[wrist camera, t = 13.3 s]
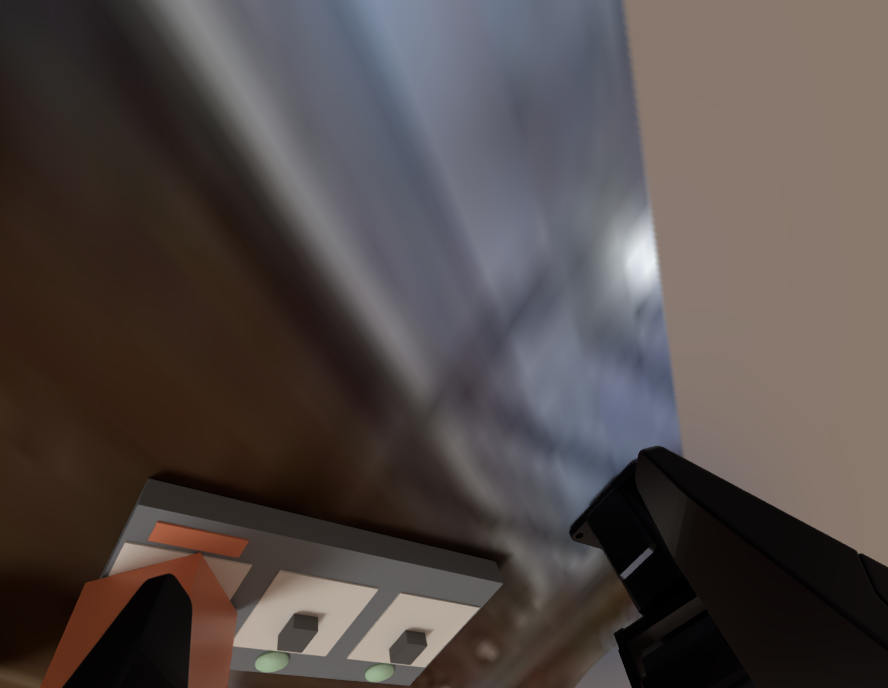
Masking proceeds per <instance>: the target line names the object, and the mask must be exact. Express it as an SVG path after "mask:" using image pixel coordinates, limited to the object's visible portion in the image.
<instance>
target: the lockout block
mask: <svg viewBox="0 0 888 688" xmlns="http://www.w3.org/2000/svg"><path fill="white" fill-rule="evenodd" d="M167 573H171V574H173V575H174V576H175V577H176V578H177V579H178V581H179V582H180V584H181V585H182V587H183V588H184V590H185V591H186V592H187V594H188V595H189V597H190V599H191V602H192V608H193V613H192V630H191V647H190V664H189V681H188V688H227V687H228V680H229V672H230V665H231V658H232V650H233V643H234V636H235V628H236V621H237V614H238V613H237V611H236V610H235V608H234V606H233V605H232V603H231V602H230V600H229V598H228V597H227V595H226V593H225V592H224V590H223V588H222V587H221V585H220V583H219V582H218V580H217V579H216V577H215V575H214V574H213V572H212V570H211V569H210V567H209V565H208V564H207V562H206V560H205V559H204V557H203V556H202V554H201V552H199V553H196V554H192V555H188V556H184V557H181V558H177V559H173V560H169V561H166V562H162V563H158V564H154V565H150V566H147V567H143V568H139V569H135V570H132V571H128V572H124V573H120V574H117V575H113V576H109V577H105V578H101V579H98V580H94V581H90V582H86V583H85V585H84V587H83V589H82V592H81V594H80V596H79V599H78V601H77V603H76V606H75V608H74V610H73V613H72V615H71V617H70V620H69V622H68V624H67V626H66V629H65V631H64V633H63V636H62V638H61V640H60V643H59V645H58V647H57V650H56V652H55V654H54V657H53V659H52V661H51V663H50V666H49V668H48V670H47V673H46V675H45V677H44V680H43V682H42V684H41V687H40V688H62V687H63V685H64V684H65V683H66V681H67V680H68V679H69V678H70V676H71V675H72V674H73V672H74V671H75V670H76V669H77V667H78V666H79V665H80V663H81V662H82V661H83V660H84V658H85V657H86V656H87V654H88V653H89V652H90V651H91V649H92V648H93V647H94V645H95V644H96V643H97V642H98V640H99V639H100V638H101V636H102V635H103V634H104V633H105V631H106V630H107V629H108V627H109V626H110V625H111V624H112V622H113V621H114V620H115V618H116V617H117V616H118V615H119V613H120V612H121V611H122V609H123V608H124V607H125V606H126V604H127V603H128V602H129V600H130V599H131V598H132V597H133V595H134V594H135V593H136V591H137V590H138V589H139V588H140V586H141V585H142V584H143V583H144V582H145V581H146V580H147V579H149V578H152V577H156V576H160V575H163V574H167Z"/></svg>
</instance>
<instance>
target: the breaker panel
mask: <svg viewBox="0 0 888 688" xmlns="http://www.w3.org/2000/svg"><path fill="white" fill-rule="evenodd" d="M199 552H201V554H202V556H203V557H204V559H205V560H206V562H207V564H208V565H209V567H210V569H211V570H212V572H213V574H214V575H215V577H216V579H217V580H218V582H219V583H220V585H221V587H222V588H223V590H224V592H225V593H226V595H227V597H228V598H229V600H230V602H231V603H232V605H233V606H234V608H235V610H236V611H237V613H238V614H237V621H236V628H235V636H234V643H233V650H232V658H231V665H230V670H241V671H252V672H264V673H275V674H286V675H297V676H308V677H319V678H330V679H341V680H352V681H363V682H374V683H385V684H397V685H408V686H409V685H410V684H411V683H412V682H413V681H414V680H415V679H416V678H417V677H418V676H419V675H420V673H421V672H422V671H423V670H424V669H425V668H426V667H427V666H428V665H429V664H430V663H431V662H432V660H433V659H434V658H435V657H436V656H437V655H438V654H439V653H440V652H441V651H442V650H443V649H444V647H445V646H446V645H447V644H448V643H449V642H450V641H451V640H452V639H453V638H454V637H455V636H456V634H457V633H458V632H459V631H460V630H461V629H462V628H463V627H464V626H465V625H466V624H467V623H468V621H469V620H470V619H471V618H472V617H473V616H474V615H475V614H476V613H477V612H478V611H479V610H480V608H481V607H482V606H483V605H484V604H485V603H486V602H487V601H488V600H489V599H490V598H491V597H492V596H493V594H494V593H495V592H496V591H497V590H498V589H499V588H500V587H501V586H502V585H503V581H502V578H501V575H500V572H499V569H498V566H497V563H496V562H495V561H491V560H487V559H483V558H479V557H474V556H470V555H466V554H462V553H458V552H454V551H449V550H445V549H441V548H437V547H433V546H428V545H424V544H420V543H416V542H412V541H408V540H403V539H399V538H395V537H391V536H387V535H382V534H378V533H374V532H370V531H366V530H362V529H357V528H353V527H349V526H345V525H341V524H337V523H332V522H328V521H324V520H320V519H316V518H311V517H307V516H303V515H299V514H295V513H291V512H286V511H282V510H278V509H274V508H270V507H265V506H261V505H257V504H253V503H249V502H245V501H240V500H236V499H232V498H228V497H224V496H220V495H215V494H211V493H207V492H203V491H199V490H194V489H190V488H186V487H182V486H178V485H174V484H169V483H165V482H161V481H157V480H153V479H149V478H148V480H147V482H146V484H145V486H144V488H143V490H142V492H141V494H140V496H139V498H138V500H137V502H136V504H135V506H134V508H133V510H132V512H131V515H130V517H129V519H128V521H127V523H126V525H125V527H124V529H123V531H122V533H121V535H120V537H119V539H118V541H117V543H116V545H115V547H114V549H113V552H112V554H111V556H110V558H109V560H108V562H107V564H106V566H105V568H104V570H103V572H102V574H101V576H100V578H99V579H101V578H105V577H109V576H113V575H117V574H120V573H124V572H128V571H132V570H135V569H139V568H143V567H147V566H150V565H154V564H158V563H162V562H166V561H169V560H173V559H177V558H181V557H184V556H188V555H192V554H196V553H199Z"/></svg>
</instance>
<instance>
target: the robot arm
mask: <svg viewBox="0 0 888 688" xmlns="http://www.w3.org/2000/svg"><path fill="white" fill-rule="evenodd" d="M569 534H570V536H571V538H572V540H573V541H576V542H579V543H583V544H586V545H590V546H593V547H596V548H600V549H602V550H603V552H604V553H605V555H606V557H607V559H608V560H609V562H610V564H611V566H612V567H613V569H614V571H615V573H616V574H617V576H618V578H619V579H620V580H621V582H622V583H623V585H624V587H625V589H626V590H627V592H628V594H629V596H630V597H631V599H632V601H633V603H634V604H635V606H636V608H637V610H638V611H639V613H640V614H642V616H643V617H641V618H640V619H638V620H637V621H635V622H634V623H632V624H631V625H629V626H628V627H626V628H625V629H624V628H621V629H620V630H618V631H617V632H615V633H614V636H615V639H616V641H617V644H618V647H619V654H620V657H621V659H622V662H623V665H624V667H625V670H626V673H627V676H628V679H629V681H630V684H631V687H632V688H888V567H886V566H885V565H883V564H881V563H879V562H877V561H875V560H874V559H872V558H870V557H868V556H866V555H864V554H861V553H860V554H858V552H857V551H856V550H854V549H853V548H851V547H849V546H847V545H845V544H843V543H841V542H840V541H838V540H836V539H834V538H832V537H830V536H828V535H827V534H825V533H823V532H821V531H819V530H817V529H815V528H813V527H811V526H810V525H808V524H806V523H804V522H802V521H800V520H798V519H797V518H795V517H793V516H791V515H789V514H787V513H785V512H784V511H782V510H779V509H778V508H776V507H774V506H772V505H770V504H768V503H767V502H765V501H763V500H761V499H759V498H757V497H756V496H754V495H752V494H750V493H748V492H746V491H744V490H742V489H741V488H739V487H737V486H735V485H733V484H731V483H729V482H727V481H725V480H724V479H722V478H720V477H718V476H716V475H714V474H712V473H711V472H709V471H707V470H705V469H703V468H701V467H699V466H698V465H696V464H694V463H692V462H690V461H688V460H686V459H685V458H683V457H681V456H679V455H677V454H675V453H673V452H671V451H670V450H668V449H666V448H664V447H661V446H654V447H650V448H646V449H643V450H641V451H640V452H639V454H638V460H637V462H636V463H634V464H632V465H631V466H630V467H629V468H628V469H627V470H626V471H625V472H624V473H623V474H622V475H621V476H620V477H619V478H618V479H617V480H616V482H615V483H614V484H613V485H612V486H611V487H610V488H609V489H608V490H607V491H606V492H605V493H604V494H603V495H602V496H601V497H600V499H599V500H598V501H597V502H596V503H595V504H594V505H593V506H592V507H591V508H590V509H589V510H588V511H587V512H586V513H585V514H584V516H583V517H582V518H581V519H580V520H579V521H578V522H577V523H576V524H575V525H574V526H573V527H572V528H571V530H570V531H569ZM192 613H193V608H192V602H191V599H190V597H189V595H188V594H187V592H186V591H185V590H184V588H183V587H182V585H181V584H180V582H179V581H178V579H177V578H176V577H175V576H174V575H173V574H171V573H167V574H163V575H160V576H156V577H152V578H149V579H147V580H146V581H145V582H144V583H143V584H142V585H141V586H140V588H139V589H138V590H137V591H136V593H135V594H134V595H133V597H132V598H131V599H130V600H129V602H128V603H127V604H126V606H125V607H124V608H123V609H122V611H121V612H120V613H119V615H118V616H117V617H116V618H115V620H114V621H113V622H112V624H111V625H110V626H109V627H108V629H107V630H106V631H105V633H104V634H103V635H102V636H101V638H100V639H99V640H98V642H97V643H96V644H95V645H94V647H93V648H92V649H91V651H90V652H89V653H88V654H87V656H86V657H85V658H84V660H83V661H82V662H81V663H80V665H79V666H78V667H77V669H76V670H75V671H74V672H73V674H72V675H71V676H70V678H69V679H68V680H67V681H66V683H65V684H64V685H63V687H62V688H188V681H189V664H190V647H191V630H192Z"/></svg>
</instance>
